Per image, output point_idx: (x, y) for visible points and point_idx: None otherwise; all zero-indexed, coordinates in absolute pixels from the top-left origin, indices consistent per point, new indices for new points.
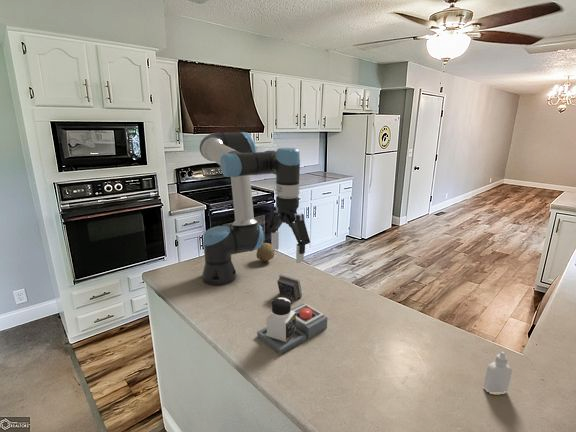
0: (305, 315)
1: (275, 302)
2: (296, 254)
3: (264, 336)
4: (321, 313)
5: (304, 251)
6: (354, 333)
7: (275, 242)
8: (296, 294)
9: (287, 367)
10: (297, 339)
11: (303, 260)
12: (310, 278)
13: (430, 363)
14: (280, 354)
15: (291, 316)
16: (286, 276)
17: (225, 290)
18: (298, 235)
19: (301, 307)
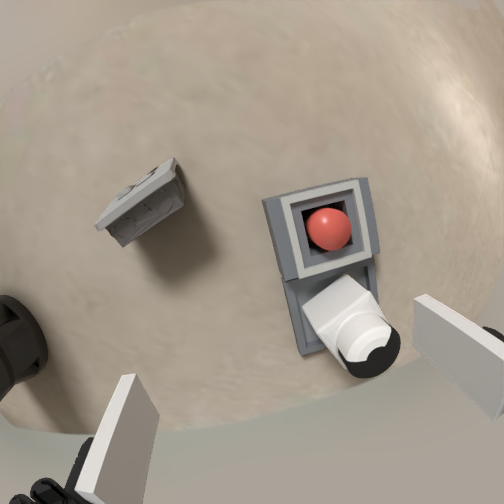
0: (347, 240)
1: (372, 373)
2: (447, 375)
3: (325, 346)
4: (352, 185)
5: (497, 335)
6: (396, 134)
7: (138, 439)
8: (179, 183)
9: (404, 321)
10: (374, 282)
11: (429, 297)
12: (87, 86)
13: (482, 98)
14: None
15: (381, 311)
16: (121, 210)
17: (70, 348)
18: None
19: (294, 224)
